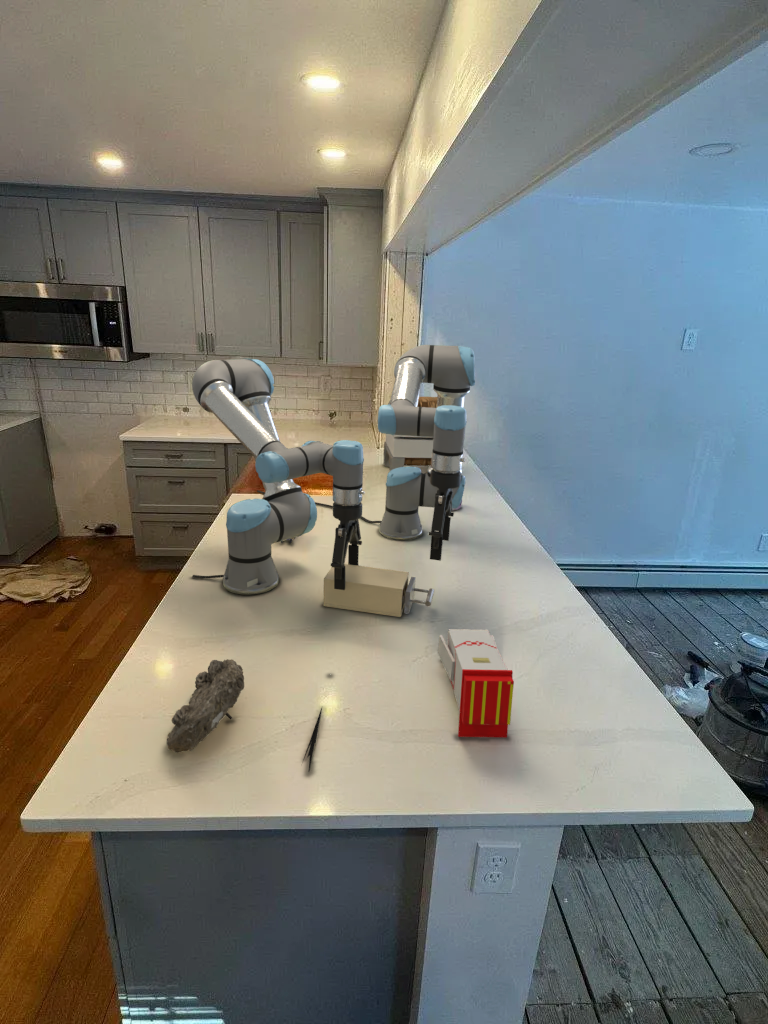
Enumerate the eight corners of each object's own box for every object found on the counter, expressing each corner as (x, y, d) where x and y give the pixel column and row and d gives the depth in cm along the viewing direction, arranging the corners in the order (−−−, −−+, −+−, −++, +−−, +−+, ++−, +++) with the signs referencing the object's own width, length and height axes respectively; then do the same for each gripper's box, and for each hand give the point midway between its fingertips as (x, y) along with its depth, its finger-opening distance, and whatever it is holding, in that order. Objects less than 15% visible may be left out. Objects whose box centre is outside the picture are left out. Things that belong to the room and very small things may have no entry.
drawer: (433, 600, 153) (435, 579, 151) (429, 617, 145) (431, 595, 143) (344, 588, 158) (345, 567, 156) (335, 603, 149) (336, 582, 147)
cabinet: (407, 598, 155) (408, 572, 153) (400, 617, 146) (402, 589, 143) (334, 588, 159) (334, 562, 156) (323, 606, 150) (323, 578, 147)
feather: (331, 679, 122) (336, 673, 122) (307, 777, 96) (313, 769, 95) (324, 675, 122) (329, 669, 121) (298, 772, 95) (304, 764, 95)
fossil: (192, 660, 117) (244, 628, 112) (224, 691, 120) (276, 661, 115) (142, 746, 98) (202, 712, 93) (182, 779, 101) (242, 748, 96)
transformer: (382, 463, 289) (386, 382, 275) (445, 464, 293) (451, 384, 279) (390, 482, 257) (394, 392, 243) (460, 483, 261) (468, 394, 247)
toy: (488, 613, 130) (523, 677, 101) (484, 667, 133) (517, 744, 104) (435, 612, 130) (455, 676, 101) (432, 666, 133) (451, 743, 103)
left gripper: (349, 519, 132) (348, 601, 139) (372, 489, 155) (370, 560, 162) (318, 516, 133) (318, 597, 140) (346, 487, 156) (345, 557, 163)
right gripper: (454, 485, 127) (447, 570, 134) (467, 459, 150) (460, 534, 157) (421, 481, 129) (416, 566, 136) (439, 457, 152) (433, 530, 159)
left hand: (346, 577), depth 151 cm, fingers open, 13 cm apart
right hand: (439, 549), depth 147 cm, fingers open, 13 cm apart
